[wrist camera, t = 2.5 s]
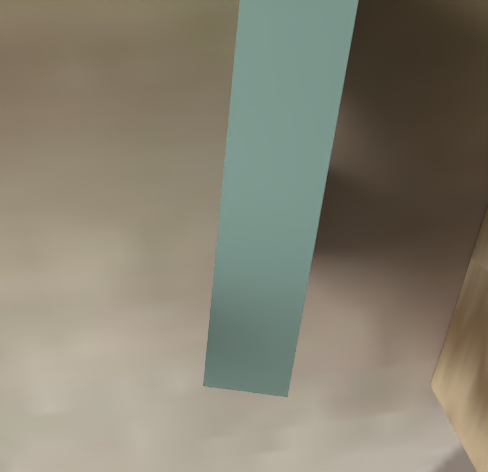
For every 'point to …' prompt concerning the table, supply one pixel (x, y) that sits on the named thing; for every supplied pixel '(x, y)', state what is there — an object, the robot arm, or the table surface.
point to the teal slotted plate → (274, 185)
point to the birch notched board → (468, 359)
